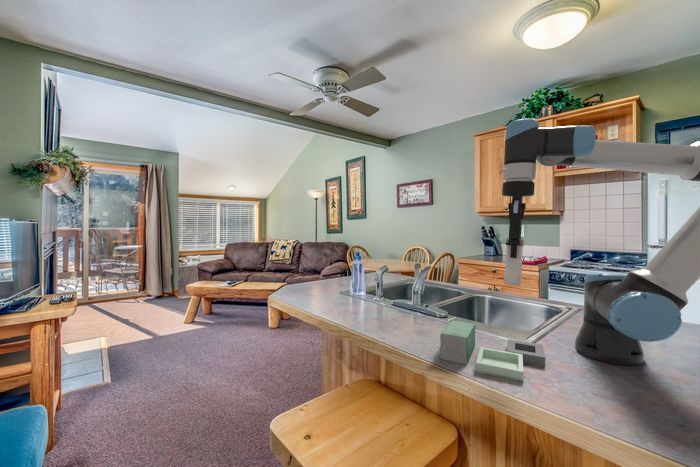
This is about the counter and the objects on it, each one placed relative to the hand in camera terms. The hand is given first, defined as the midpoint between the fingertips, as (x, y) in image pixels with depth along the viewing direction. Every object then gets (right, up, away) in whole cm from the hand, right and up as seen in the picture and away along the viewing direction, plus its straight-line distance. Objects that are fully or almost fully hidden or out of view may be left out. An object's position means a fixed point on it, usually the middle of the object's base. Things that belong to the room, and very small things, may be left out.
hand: (513, 268), depth 85 cm
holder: (+5, -25, +4) cm, 26 cm away
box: (-12, -25, +7) cm, 29 cm away
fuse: (0, -4, 0) cm, 4 cm away
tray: (-5, -26, -3) cm, 26 cm away
